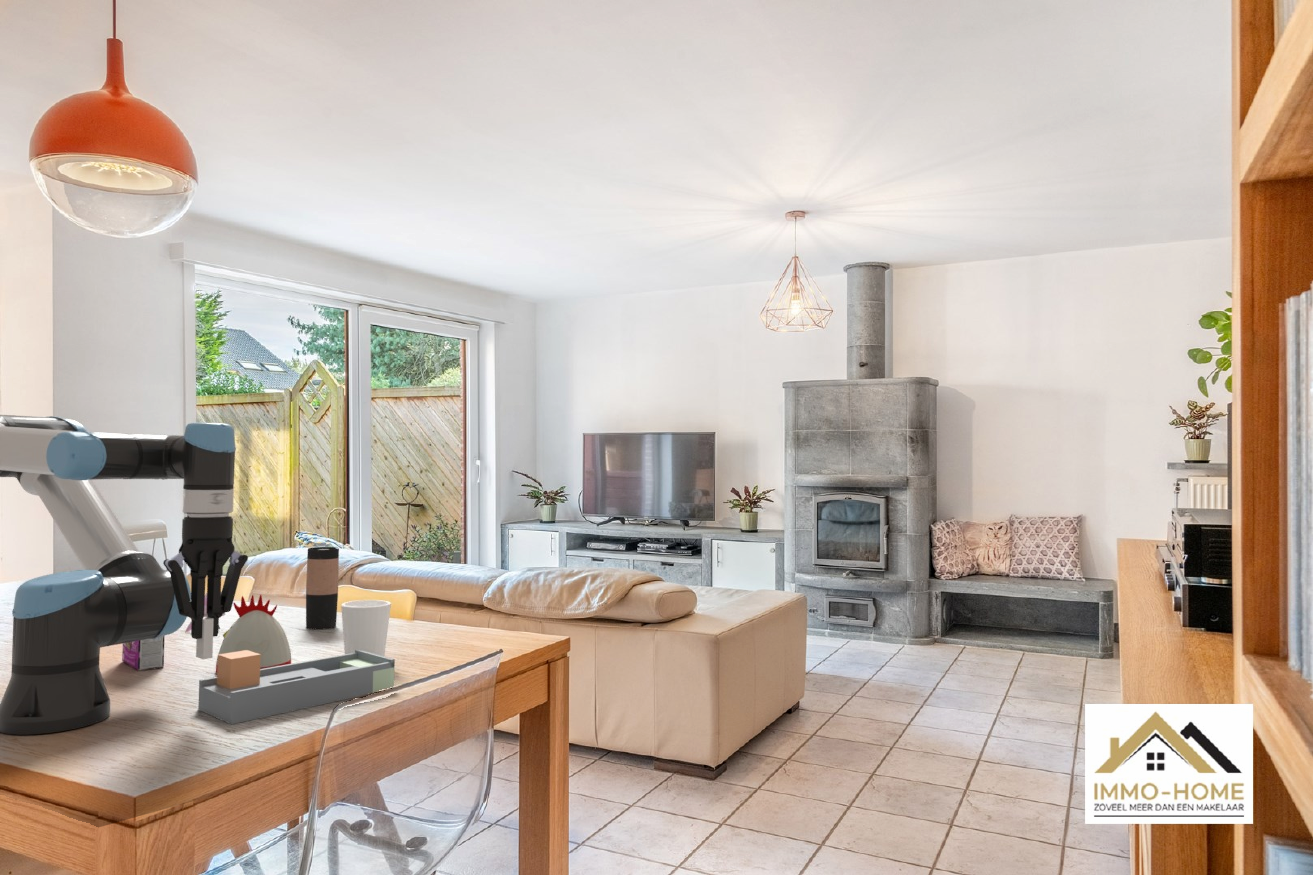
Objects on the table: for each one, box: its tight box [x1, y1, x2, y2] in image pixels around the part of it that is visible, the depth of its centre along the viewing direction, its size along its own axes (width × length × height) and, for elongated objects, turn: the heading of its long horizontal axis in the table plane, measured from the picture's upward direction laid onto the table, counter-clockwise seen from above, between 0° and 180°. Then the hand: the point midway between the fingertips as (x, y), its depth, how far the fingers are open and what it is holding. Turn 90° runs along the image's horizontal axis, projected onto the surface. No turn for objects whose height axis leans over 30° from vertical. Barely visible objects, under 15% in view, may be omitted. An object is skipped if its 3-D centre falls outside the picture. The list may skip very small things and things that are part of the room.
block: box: [216, 650, 261, 689], centre depth 148 cm, size 5×5×5 cm
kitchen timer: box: [215, 594, 292, 674], centre depth 175 cm, size 14×14×15 cm
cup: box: [340, 599, 392, 657], centre depth 180 cm, size 10×10×13 cm
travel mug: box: [305, 546, 340, 630], centre depth 220 cm, size 8×8×20 cm
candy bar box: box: [121, 635, 166, 672], centre depth 177 cm, size 11×5×16 cm, turn 47°
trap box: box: [197, 650, 396, 725], centre depth 154 cm, size 30×12×6 cm, turn 141°
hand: (204, 657), depth 143 cm, fingers closed
